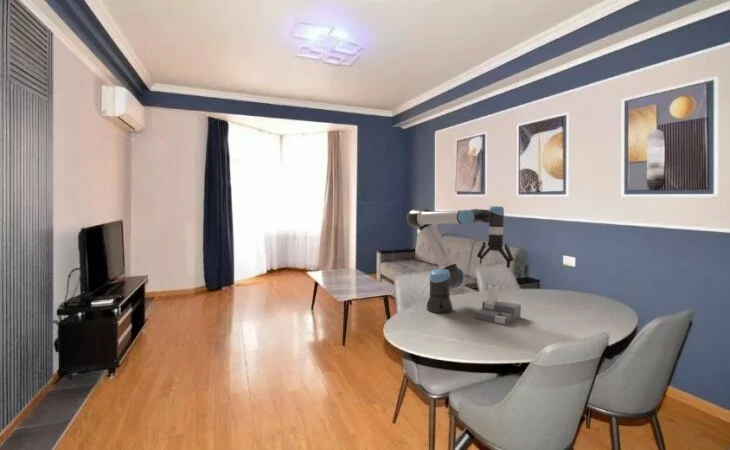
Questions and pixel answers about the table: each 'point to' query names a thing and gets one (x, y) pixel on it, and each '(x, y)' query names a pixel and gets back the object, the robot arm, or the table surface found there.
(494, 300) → the cream long block
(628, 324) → the table surface
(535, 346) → the table surface
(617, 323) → the table surface
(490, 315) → the grey socket holder
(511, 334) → the table surface
